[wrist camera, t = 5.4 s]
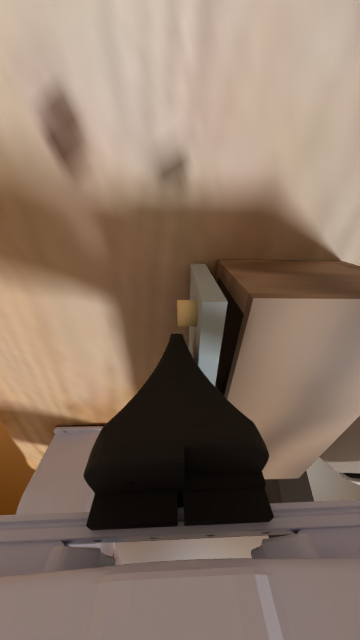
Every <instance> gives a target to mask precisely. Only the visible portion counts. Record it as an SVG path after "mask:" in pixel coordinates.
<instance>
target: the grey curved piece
mask: <svg viewBox="0 0 360 640" xmlns="http://www.w3.org/2000/svg"><path fill="white" fill-rule="evenodd" d="M320 458H321V459H322V460H323V461H324V462H325V463H326V464H327V465H328V466H329V467H330V468H331V469H332V470H334V471H336V472H339V473H340V474H341V475H342V476H343V477H344V478H346V479H347V480H349V481H351V482H354V483H356V484H358V485H360V416H359V417H358V418H357V419H356V420H355V421H354V422H353V423H352V424H351V425H350V426H349V427H348V428H347V429H346V430H345V431H344V432H343V433H342V434H341V435H340V436H339V437H338V438H337V439H336V440H335V441H334V442H333V443H332V444H331V445H330V447H329V448H328V449H327V450H326V451H325V452H324V453H323V454H322V455H321V456H320Z"/></svg>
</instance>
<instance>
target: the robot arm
mask: <svg viewBox="0 0 360 640" xmlns="http://www.w3.org/2000/svg"><path fill="white" fill-rule="evenodd" d="M53 432H54V434H55V435H54V437H53V439H52V441H51V443H50V445H49V447H48V448H47V450H46V452H45V454H44V456H43V458H42V460H41V462H40V463H39V465H38V467H37V469H36V471H35V473H34V475H33V476H32V478H31V480H30V482H29V484H28V486H27V488H26V490H25V492H24V494H23V496H22V498H21V500H20V503H19V506H18V509H17V512H16V515H2V516H0V640H360V500H339V501H317V502H293V503H271V504H270V503H269V500H268V497H267V494H266V491H265V488H264V487H266V482H265V479H264V476H263V473H262V470H263V469H264V467H265V465H266V464H267V462H268V459H269V453H268V450H267V447H266V445H265V442H264V440H263V438H262V436H261V434H260V433H259V431H258V429H257V427H256V425H255V424H254V422H252V421H251V420H250V419H249V418H248V417H246V416H245V415H244V414H243V413H242V412H240V411H239V410H238V409H237V408H236V407H235V406H234V405H233V404H232V403H230V402H229V401H228V400H227V399H226V398H225V397H224V396H223V395H222V394H221V393H220V392H219V391H218V389H217V388H216V387H215V386H214V385H213V384H212V383H211V382H210V381H209V379H208V378H207V377H206V376H205V374H204V373H203V372H202V370H201V369H200V368H199V366H198V365H197V363H196V362H195V360H194V358H193V357H192V355H191V353H190V351H189V349H188V347H187V345H186V343H185V341H184V338H183V335H182V334H172V335H171V336H170V340H169V343H168V346H167V348H166V350H165V352H164V354H163V356H162V358H161V360H160V362H159V363H158V365H157V367H156V368H155V370H154V372H153V373H152V375H151V376H150V377H149V379H148V380H147V381H146V383H145V384H144V385H143V387H142V388H141V389H140V390H139V391H138V393H137V394H136V395H135V396H134V397H133V398H132V399H131V400H130V401H129V403H128V404H127V405H126V406H125V407H124V408H123V409H122V410H121V411H120V412H119V413H118V414H117V415H116V416H114V417H113V418H112V419H111V420H110V421H109V422H108V423H107V424H106V425H105V426H85V427H56V428H55V429H54V430H53ZM283 534H291V535H286V536H280V537H274V538H268V539H263V541H262V545H261V546H260V547H257V548H255V549H253V550H252V551H251V556H252V558H246V559H245V558H243V559H197V560H176V561H160V562H146V563H134V564H124V565H122V562H121V558H120V556H119V551H118V549H117V548H114V545H115V543H116V542H137V541H158V540H179V539H200V538H220V537H240V536H262V535H283Z"/></svg>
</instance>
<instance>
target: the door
mask: <svg viewBox="0 0 360 640" xmlns="http://www.w3.org/2000/svg"><path fill="white" fill-rule="evenodd" d="M227 304H228V301H227V300H226V298H225V296H224V295H223V293H222V291H221V290H220V288H219V286H218V284H217V283H216V281H215V279H214V278H213V276H212V274H211V273H210V271H209V269H208V268H207V266H206V264H191V270H190V300H177V327H187V326H189V347H188V349H189V351H190V353H191V355H192V357H193V358H194V360H195V362H196V363H197V365H198V366H199V368H200V369H201V370H202V372H203V373H204V374H205V376H206V377H207V378H208V379H209V381H210V382H211V383H212V384H213V385H214V386H215V383H216V376H217V370H218V363H219V357H220V350H221V343H222V337H223V330H224V324H225V317H226V310H227Z"/></svg>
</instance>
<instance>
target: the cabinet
mask: <svg viewBox="0 0 360 640" xmlns="http://www.w3.org/2000/svg"><path fill="white" fill-rule="evenodd" d="M215 281H216V283H217V284H218V286H219V288H220V290H221V291H222V293H223V295H224V296H225V298H226V300H227V301H228V304H227V310H226V317H225V324H224V330H223V337H222V343H221V350H220V357H219V363H218V370H217V376H216V383H215V387H216V388H217V389H218V391H219V392H220V393H221V394H222V395H223V396H224V397H225V398H226V399H227V400H228V401H229V402H230V403H232V404H233V405H234V406H235V407H236V408H237V409H238V410H239V411H240V412H242V413H243V414H244V415H245V416H246V417H248V418H249V419H250V420H251V421H252V422H254V424H255V425H256V427H257V429H258V431H259V433H260V434H261V436H262V438H263V440H264V442H265V445H266V447H267V450H268V453H269V459H268V462H267V464H266V465H265V467H264V469H263V470H262V473H263V476H264V479H293V478H299V477H300V476H301V475H302V474H303V473H304V472H305V471H306V470H307V469H308V468H309V467H310V466H311V465H312V464H313V463H314V462H315V461H316V460H317V459H318V458H319V457H320V456H321V455H322V454H323V453H324V452H325V451H326V450H327V449H328V448H329V447H330V445H331V444H332V443H333V442H334V441H335V440H336V439H337V438H338V437H339V436H340V435H341V434H342V433H343V432H344V431H345V430H346V429H347V428H348V427H349V426H350V425H351V424H352V423H353V422H354V421H355V420H356V419H357V418H358V417H359V416H360V266H357V265H354V264H350V263H347V262H343V261H293V260H219V259H218V264H217V271H216V279H215Z"/></svg>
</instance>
